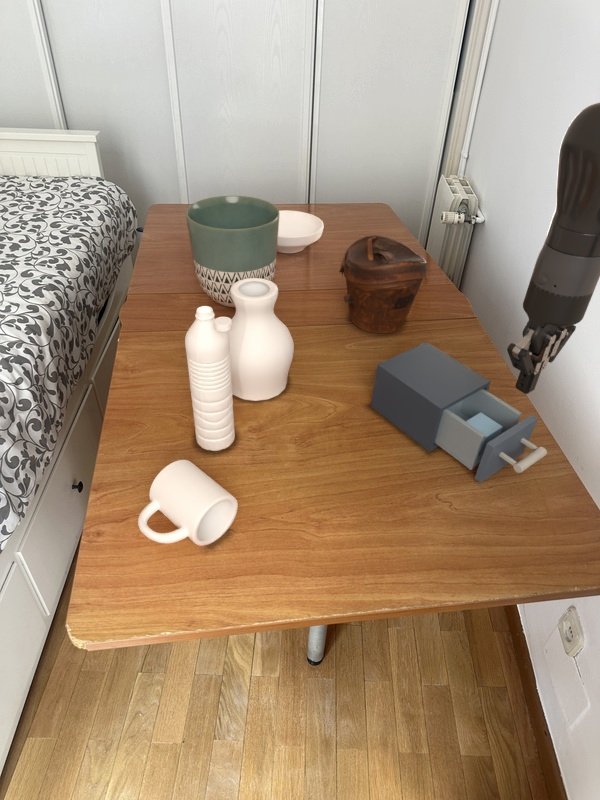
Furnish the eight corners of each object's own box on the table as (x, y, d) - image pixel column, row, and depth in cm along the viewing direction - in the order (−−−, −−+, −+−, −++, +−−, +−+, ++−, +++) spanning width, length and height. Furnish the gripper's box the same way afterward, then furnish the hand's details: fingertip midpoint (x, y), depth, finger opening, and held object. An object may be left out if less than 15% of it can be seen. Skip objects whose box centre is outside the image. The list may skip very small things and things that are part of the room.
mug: (196, 486, 83) (191, 449, 78) (239, 522, 78) (237, 486, 73) (128, 532, 76) (118, 494, 71) (172, 575, 71) (164, 538, 66)
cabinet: (476, 423, 97) (490, 381, 91) (429, 452, 91) (440, 408, 85) (417, 382, 106) (426, 341, 100) (370, 406, 100) (377, 364, 93)
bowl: (252, 234, 159) (251, 210, 155) (317, 233, 161) (318, 210, 157) (255, 263, 144) (254, 237, 140) (326, 262, 146) (328, 236, 142)
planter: (252, 275, 139) (250, 190, 125) (294, 308, 126) (297, 218, 113) (181, 293, 130) (171, 204, 117) (218, 331, 118) (211, 236, 104)
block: (474, 431, 92) (480, 412, 89) (495, 446, 90) (502, 426, 87) (457, 441, 90) (463, 422, 87) (479, 457, 87) (486, 437, 85)
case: (358, 291, 134) (366, 220, 123) (431, 317, 126) (447, 243, 114) (318, 320, 123) (323, 245, 111) (396, 351, 114) (410, 273, 103)
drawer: (545, 468, 87) (562, 433, 82) (502, 500, 82) (517, 464, 77) (460, 410, 98) (470, 376, 93) (417, 435, 93) (425, 400, 88)
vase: (276, 412, 97) (277, 316, 85) (205, 393, 101) (196, 298, 88) (303, 369, 108) (307, 278, 95) (238, 353, 111) (234, 263, 99)
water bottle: (188, 437, 91) (171, 307, 76) (219, 420, 95) (209, 293, 79) (220, 465, 87) (209, 333, 71) (251, 446, 90) (247, 316, 74)
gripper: (560, 306, 62) (518, 420, 73) (619, 277, 68) (572, 386, 79) (506, 282, 67) (474, 392, 77) (565, 257, 73) (528, 362, 84)
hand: (524, 389), depth 78 cm, fingers closed
